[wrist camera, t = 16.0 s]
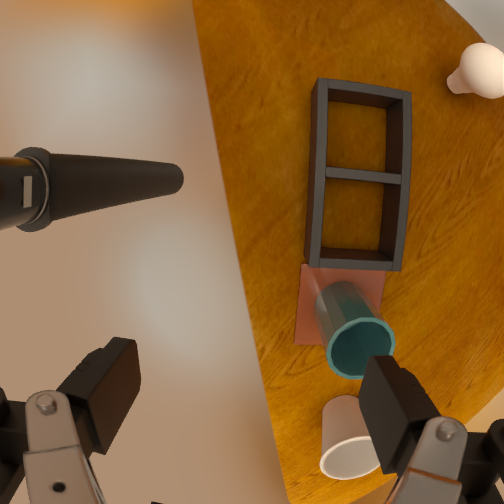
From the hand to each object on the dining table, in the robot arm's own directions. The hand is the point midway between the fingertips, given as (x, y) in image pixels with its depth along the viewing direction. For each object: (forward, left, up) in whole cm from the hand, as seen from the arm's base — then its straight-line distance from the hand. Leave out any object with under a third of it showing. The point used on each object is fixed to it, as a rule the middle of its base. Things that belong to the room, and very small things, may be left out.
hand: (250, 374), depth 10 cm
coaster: (+9, -8, -26) cm, 28 cm away
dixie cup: (+12, -24, -26) cm, 37 cm away
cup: (+9, -8, -25) cm, 28 cm away
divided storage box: (+9, +7, -26) cm, 28 cm away
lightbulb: (+22, +20, -26) cm, 40 cm away
